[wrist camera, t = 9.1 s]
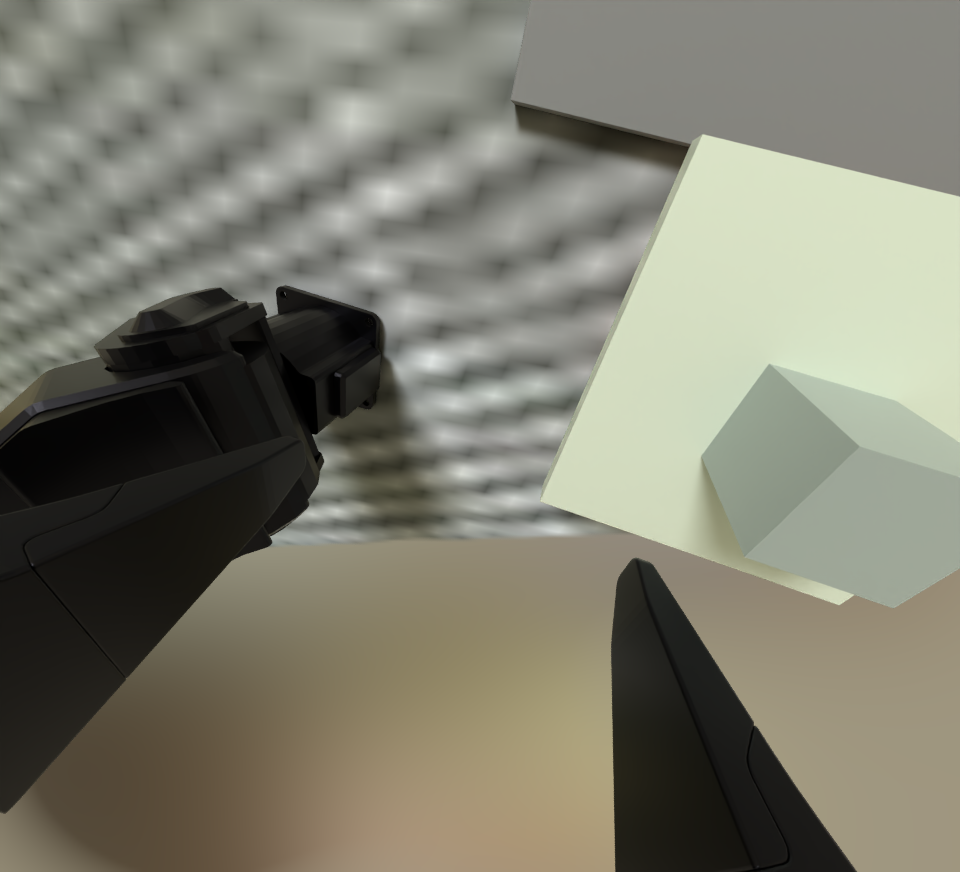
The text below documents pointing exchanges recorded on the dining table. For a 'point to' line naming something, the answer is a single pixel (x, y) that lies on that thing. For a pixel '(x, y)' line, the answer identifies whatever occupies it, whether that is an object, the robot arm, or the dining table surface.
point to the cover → (783, 380)
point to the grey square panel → (760, 77)
